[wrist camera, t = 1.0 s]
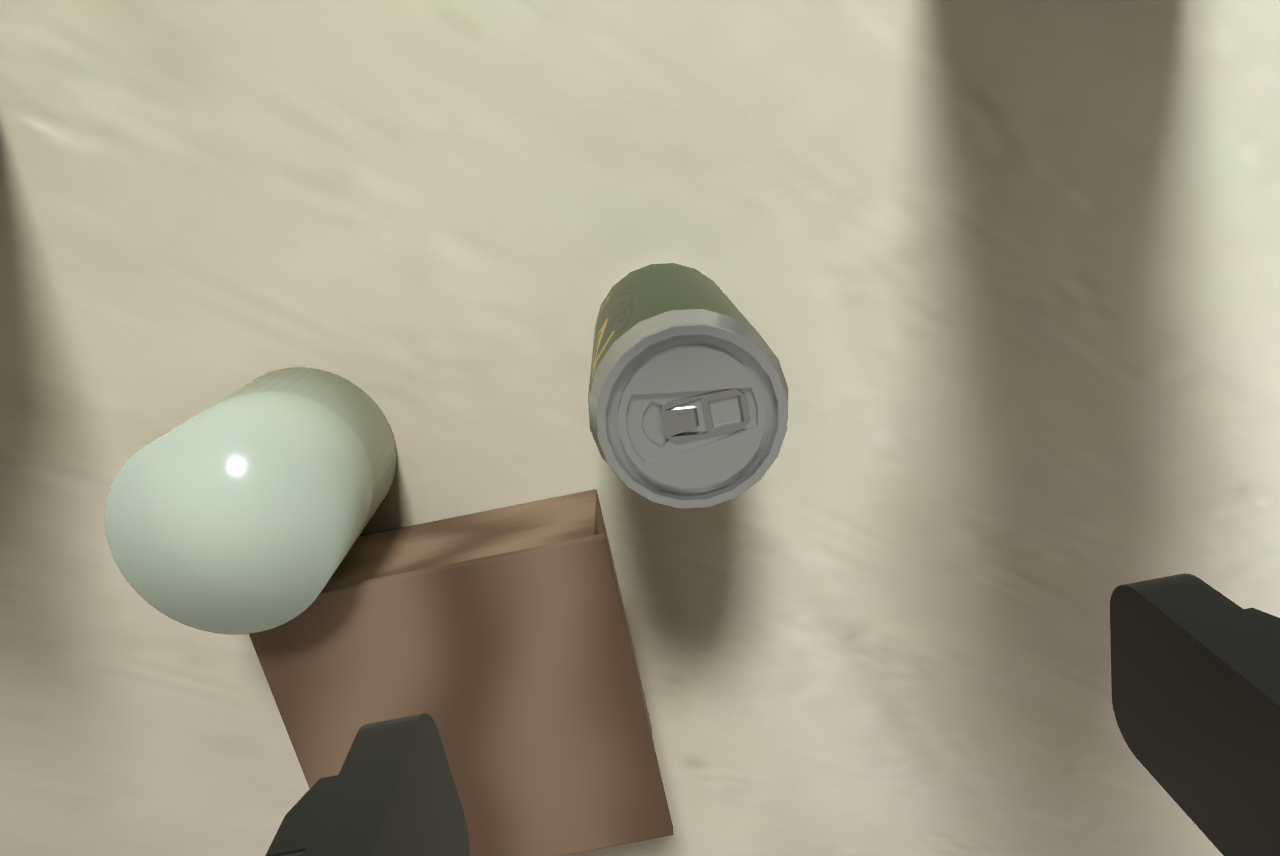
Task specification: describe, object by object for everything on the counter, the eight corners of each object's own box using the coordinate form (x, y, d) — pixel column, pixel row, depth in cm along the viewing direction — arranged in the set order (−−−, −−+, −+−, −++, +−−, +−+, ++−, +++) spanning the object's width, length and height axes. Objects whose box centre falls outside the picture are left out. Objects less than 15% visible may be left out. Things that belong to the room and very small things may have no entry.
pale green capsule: (367, 351, 33) (293, 408, 25) (417, 513, 35) (362, 612, 27) (194, 386, 33) (68, 454, 25) (254, 545, 35) (154, 652, 27)
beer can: (719, 247, 32) (779, 294, 20) (742, 381, 33) (810, 494, 22) (581, 276, 32) (565, 339, 21) (611, 408, 34) (611, 534, 22)
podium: (605, 476, 34) (604, 538, 29) (664, 734, 38) (673, 835, 33) (300, 536, 35) (239, 609, 29) (389, 786, 39) (351, 894, 33)
